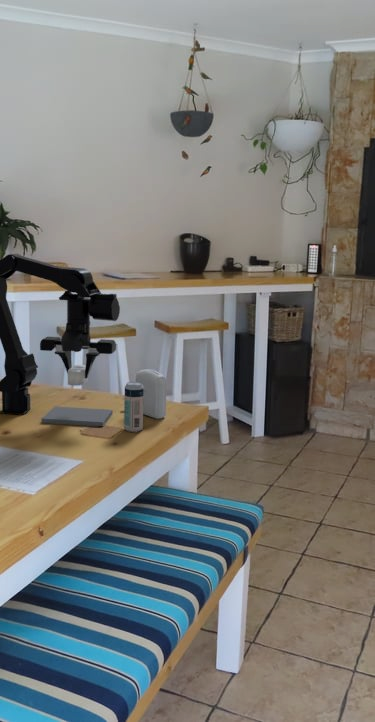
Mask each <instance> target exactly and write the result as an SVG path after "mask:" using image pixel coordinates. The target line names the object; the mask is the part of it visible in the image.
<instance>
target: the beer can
mask: <svg viewBox="0 0 375 722" xmlns="http://www.w3.org/2000/svg"><path fill="white" fill-rule="evenodd" d="M143 394H144V387H143V385H142V383H140V382H136V381H128V382H126V384H125V386H124V400H123V401H124V408H123V409H124V411H123V412H124V413H123V429H124V430H125V431H126V432H129V433H138V432H140V431H142V430H143V429H144V427H143V426H144V424H143V423H144V414H143Z"/></svg>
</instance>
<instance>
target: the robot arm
mask: <svg viewBox="0 0 375 722" xmlns="http://www.w3.org/2000/svg"><path fill="white" fill-rule="evenodd" d="M16 272H19V273H22V274H26V275H29V276H33V277H35V278H39V279H43V280H46V281H50V282H52V283H55V284H56V285H58V286H59V287H60V288H61V289H64V290H65V291H64V292H63V294H61V296H59V297H58V300H59V301H66V307H67V308H66V323H65V324H66V325H65V330H64V332H63V334H62V336H61V337H59V336H46V337H44V338H42V339H41V340H40V343H39V350H40V351H42V352H43V351H48V352H52V351H53V350H55V351H54V352H53V353H54V355H58V356H59V358H60V359H61V360H62V363H63V365H64V367H65V368H64V369H65V371H66V373H67V375H68V370H69V369H70V368H71V367H73V366H72V365H73V364H72V352H75V353H79V352H81V351H82V350H87V351H88V352H87V353H85V358H86V359H85V360H86V361H85V365H86V369H85V378H86V379H87V378H88V379H89V375H90V372H91V370H92V366H93V364H94V362H95V361H96V358H97V357H98V356H100V355H101V354H102V355H103V354H105V355H112V354H114V353H115V352H116V350H117V343H116V341H115V339H102V338H101V339H99V340H98V341H97V342H95V341H94V342H93V341H92V340H91V334H90V331H91V330H90V328H91V327H90V326H91V318H90V317H92V319H93V320H95V321H97V320H99V321H110V322H111V321H112V322H116V321H118V319H119V316H120V312H121V311H120V310H121V306H120V303H119V300H118V299H117V296H118V295H117V293H102V292H101V291H100V289H99V287H98V286H97V284H96V283H95V282H94V277H93V275H92V273H91V271H90V270H89V269H86V268H83V267H82V268H81V267H68V266H67V267H66V266H65V267H64V266H59V265H55V264H51V263H48V262H45V261H40V260H37V259H33V258H29V257H26V256H24V255H21V254H20V253H10V254H7V255H5V256H4V257H2V258H1V259H0V343H1V346H2V349H3V351H4V354H5V356H4V357H5V359H4V365H3V367H4V373H5V376H4V377H3V378H2V379H0V392H1V407H2V408H1V410H0V414H6V415H7V414H9V415H11V414H12V415H25V414H26V413H28V411H29V410H31V394H30V393H29V387H31V385H32V383H33V381H34V380H35V378H36V377H37V375H38V370H37V368H39V366H38V365H37V363H36V359H35V355H34V354H33V353H30V354H29V353H28V352H26V351H25V350H24V347H23V345H22V342H21V339H20V336H19V333H18V330H17V327H16V324H15V321H14V317H13V315H12V311H11V309H10V305H9V302H8V300H7V293H8V292H7V291H8V283H7V280H8V279H9V278H11V277H12V276H13V275H14V274H16Z"/></svg>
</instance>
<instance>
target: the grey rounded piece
mask: <svg viewBox="0 0 375 722" xmlns="http://www.w3.org/2000/svg"><path fill="white" fill-rule="evenodd" d="M85 369H86V364H85V365H84V364H76V365H73V366H72V367H71V368H70V369H69V370H68V374H67V385H68V386H76V387H77V386H78V387H79V386H83V385H84V384H85V383H87V382H88V380H89V377H88V378H87V379H86V378H85Z"/></svg>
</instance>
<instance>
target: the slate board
mask: <svg viewBox="0 0 375 722" xmlns="http://www.w3.org/2000/svg"><path fill="white" fill-rule="evenodd" d="M113 412H114V410H113V409H104V408H89V407H87V408H86V407H71V406H53V407H52V408H51V409H50V410H49V411H48V412H47V413H46V414H45V415H43V416H42V417H41V424H53V425H69V426H70V425H71V426H84V427H86V426H88V427H98V426H103V427H104V426H105V425H106V424H107V422H108V421H109V419H110V418H111V417H112V416H113Z"/></svg>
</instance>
